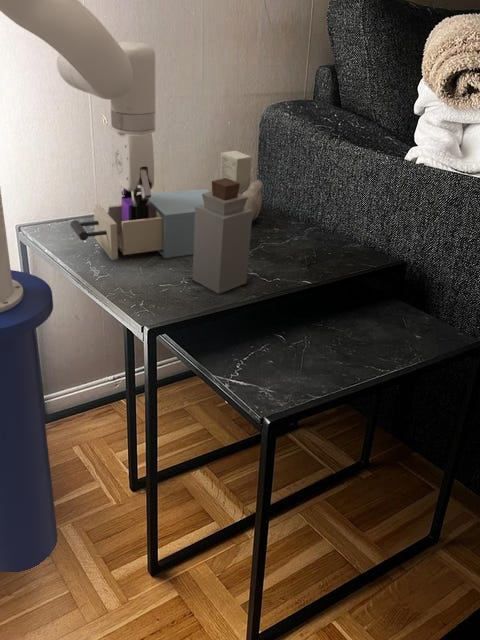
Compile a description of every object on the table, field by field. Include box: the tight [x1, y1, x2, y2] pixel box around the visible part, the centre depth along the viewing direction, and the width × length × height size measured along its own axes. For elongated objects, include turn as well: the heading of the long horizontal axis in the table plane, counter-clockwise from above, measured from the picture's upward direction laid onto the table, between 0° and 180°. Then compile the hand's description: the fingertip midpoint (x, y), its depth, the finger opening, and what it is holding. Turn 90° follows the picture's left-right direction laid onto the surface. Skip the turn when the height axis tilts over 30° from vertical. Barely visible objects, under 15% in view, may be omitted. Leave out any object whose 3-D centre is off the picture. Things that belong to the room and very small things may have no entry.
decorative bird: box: [240, 179, 266, 222], centre depth 132 cm, size 5×16×8 cm, turn 163°
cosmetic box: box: [219, 150, 252, 194], centre depth 139 cm, size 6×4×12 cm
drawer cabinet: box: [149, 188, 211, 259], centre depth 120 cm, size 14×12×9 cm
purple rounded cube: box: [120, 198, 149, 221], centre depth 114 cm, size 4×4×4 cm
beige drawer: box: [70, 204, 164, 261], centre depth 114 cm, size 18×10×7 cm, turn 118°
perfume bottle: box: [192, 178, 253, 295], centre depth 104 cm, size 7×7×18 cm
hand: (135, 219), depth 114 cm, fingers closed on purple rounded cube, 4 cm apart
